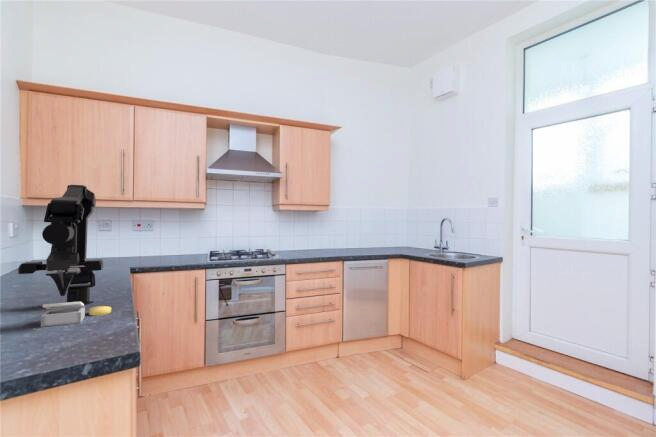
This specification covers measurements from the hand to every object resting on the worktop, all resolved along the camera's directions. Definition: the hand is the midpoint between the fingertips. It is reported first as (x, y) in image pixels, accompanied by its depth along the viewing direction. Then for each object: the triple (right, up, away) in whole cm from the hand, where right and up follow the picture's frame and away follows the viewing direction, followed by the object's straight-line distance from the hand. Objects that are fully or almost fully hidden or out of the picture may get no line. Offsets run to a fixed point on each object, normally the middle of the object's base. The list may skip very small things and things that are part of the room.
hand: (63, 295), depth 96 cm
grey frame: (-1, -8, +2) cm, 8 cm away
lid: (-1, -4, +2) cm, 4 cm away
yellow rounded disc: (+3, -8, +11) cm, 14 cm away
